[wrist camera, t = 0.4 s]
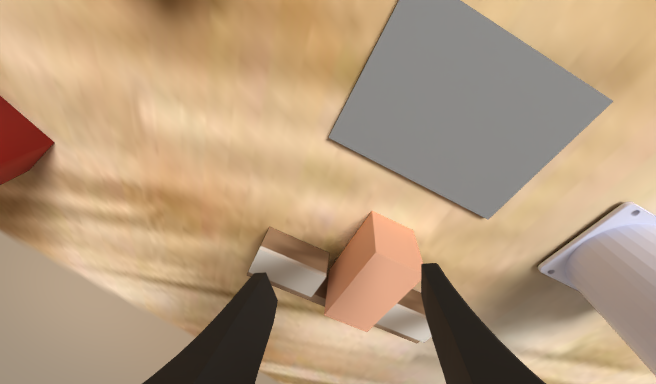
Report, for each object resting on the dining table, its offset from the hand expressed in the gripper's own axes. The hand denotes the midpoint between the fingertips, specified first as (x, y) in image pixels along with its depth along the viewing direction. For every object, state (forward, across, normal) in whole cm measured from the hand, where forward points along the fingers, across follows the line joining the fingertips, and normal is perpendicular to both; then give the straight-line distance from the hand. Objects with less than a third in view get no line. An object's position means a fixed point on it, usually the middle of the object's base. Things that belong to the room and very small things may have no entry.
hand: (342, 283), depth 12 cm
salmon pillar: (+10, -1, +7) cm, 12 cm away
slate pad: (+10, -8, -4) cm, 13 cm away
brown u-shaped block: (+10, +1, +9) cm, 13 cm away
